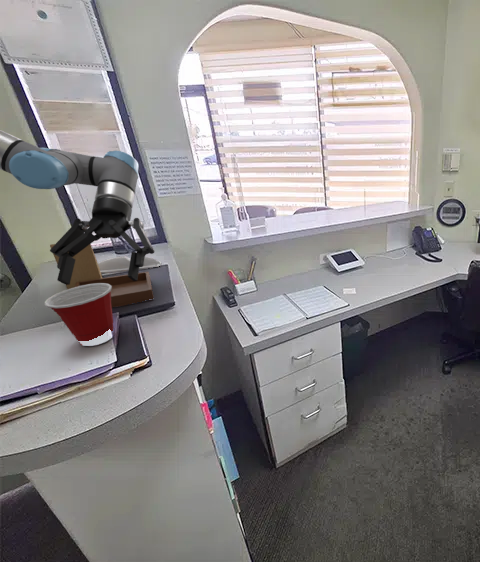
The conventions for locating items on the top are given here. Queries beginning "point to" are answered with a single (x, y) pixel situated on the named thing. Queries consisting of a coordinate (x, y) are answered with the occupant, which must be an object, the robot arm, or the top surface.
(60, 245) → the robot arm
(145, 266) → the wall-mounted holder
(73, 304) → the plastic cup
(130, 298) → the tray
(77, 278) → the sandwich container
